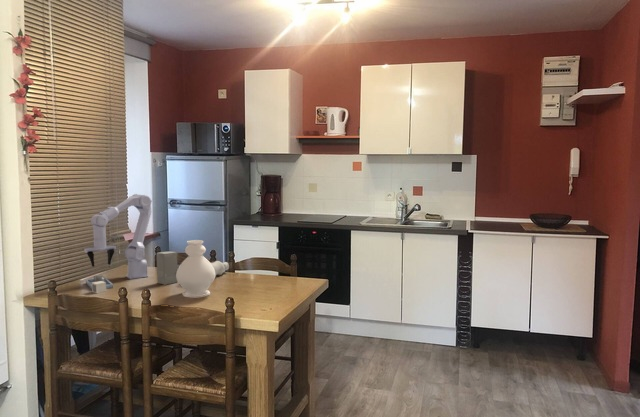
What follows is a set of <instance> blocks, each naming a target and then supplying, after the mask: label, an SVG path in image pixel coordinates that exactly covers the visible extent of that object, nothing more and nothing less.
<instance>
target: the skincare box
mask: <svg viewBox="0 0 640 417" xmlns="http://www.w3.org/2000/svg"><path fill="white" fill-rule="evenodd" d="M177 270H178V253H177V251H171V250H170V251H161V252H156V276H157V284H160V285H164V286H166V285H171V284H175V283H178V281H177V279H176V273H177Z"/></svg>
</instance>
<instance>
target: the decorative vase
mask: <svg viewBox="0 0 640 417" xmlns="http://www.w3.org/2000/svg"><path fill="white" fill-rule="evenodd" d="M186 244H187V246H186V247H185V248H184V252H185V254H186V255H188V256H187V257H186V258H185V259H184V260H183V261H181V263H180V265H179V266H178V267H177V273H176V279H177V281H178V282H177V283H178V284H179V285H180V287H182V289H183V290H184V292H182V296H183V297H185V298H189V299H190V298H191V299H192V298H193V299H194V298H196V299H197V298H203V297H207V296H210V295H211V292H210V290H208V289H209V288H210V286H211V285H212V284H213V282H214V280H215V278H216V276H215V270H214V267H213V266H212V264H211V263H212V262H210V261H209V260H208V259H207V258H206V257H205V256H204V254H205V253H206V251H207V248H206V247H205V245H203V244H204V240H202V239H201V240H200V239H192V240H187V241H186Z"/></svg>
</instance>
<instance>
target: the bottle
mask: <svg viewBox="0 0 640 417" xmlns="http://www.w3.org/2000/svg"><path fill="white" fill-rule="evenodd" d="M210 263H211V264H212V266H213V267H214V270H215V277H216V276H221V275H223V273H224V271H228V270H229V269H230V265H229V262H227V261H224V262H222V261H219V260H215V261H214V262H210Z"/></svg>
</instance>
